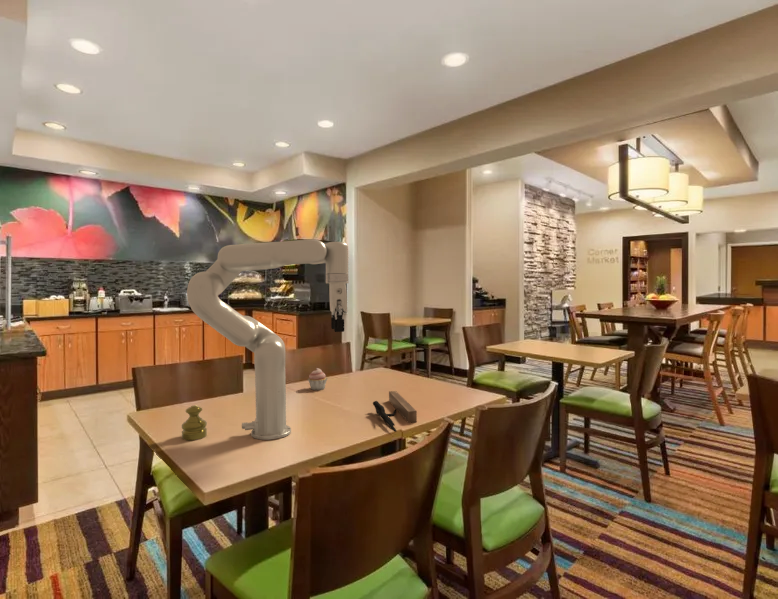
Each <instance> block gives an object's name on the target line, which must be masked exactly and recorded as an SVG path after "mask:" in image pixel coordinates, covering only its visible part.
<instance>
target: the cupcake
mask: <svg viewBox="0 0 778 599" xmlns="http://www.w3.org/2000/svg"><path fill="white" fill-rule="evenodd" d="M307 381H308V384H309V386H310V387H309V388H310V390H312V391H323V390H325V388H326V384H327V381H328V378H327V375H326V374H325V372H324V371H322V369H321V368H318V367H316V368H315V370H313V371H312V372H311V373H310V374H309V375H308V378H307Z"/></svg>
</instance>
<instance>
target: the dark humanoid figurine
mask: <svg viewBox="0 0 778 599" xmlns="http://www.w3.org/2000/svg"><path fill="white" fill-rule="evenodd" d="M372 406H374V409H375V412H376V414H377V415H379V417H380V418H381V419H382V420H383V421H384V422H385V423H386V425H388V426H389V428H390V427H391V428H390V429H391V430H393V431H394V432H398V431H397V428H395V425H396V424H395V422H394V421H393V419H392V418H390V417H394V416H395V415H396V414H397V408H394V410H393V412H392V413H386V409H385V407H384V406H383V405H381V403H379V401H377V400H374V401H373V402H372ZM388 416H389V417H388Z"/></svg>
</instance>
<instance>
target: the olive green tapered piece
mask: <svg viewBox="0 0 778 599" xmlns="http://www.w3.org/2000/svg"><path fill="white" fill-rule="evenodd" d="M202 411H203V407H201V406H198V405H195V404H194V405H191V406H190V407H188V408H186V409H185V413H186V414H188V416H189V417H188V418H186V420H185V421H184V422H183V423H182V424H181V429H182V431H181V438H182V439H183V440H184V439H185V440H184V441H196V439H198V440H201V439H204V438H205V437H206V436H208V435H207V430H208V428H207V423H208V422H207V420H204V419H203V418H202V417H201V416H200V413H201V412H202ZM203 437H204V438H203Z"/></svg>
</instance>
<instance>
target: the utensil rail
mask: <svg viewBox="0 0 778 599" xmlns="http://www.w3.org/2000/svg"><path fill="white" fill-rule="evenodd" d="M388 402H389V403H390V402H391V403H392V404H393V405H392V404H391V403H390V404H391V405H392V406H393V407H394V409H396V408H397V409H396V411H397V410H398V411H399V412H400V413H399V412H398V413H399V414H400V416H402V417H403V419H404V420H405V419H406V420H405V421H406V422H407V423H408V424H409V423H410V422H413V423H417V422H418V421H417V419H418V418H417V417H418V416H417V414H418V412H417V410H416V409H415V408H414V407H413V406H412V405H411V404H410V403H409V402H408V401H407V400H406V399H405V398H404V397H403V396H402V395H401V394H400V393H399V392H397V391H396V390H391V391H388Z"/></svg>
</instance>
